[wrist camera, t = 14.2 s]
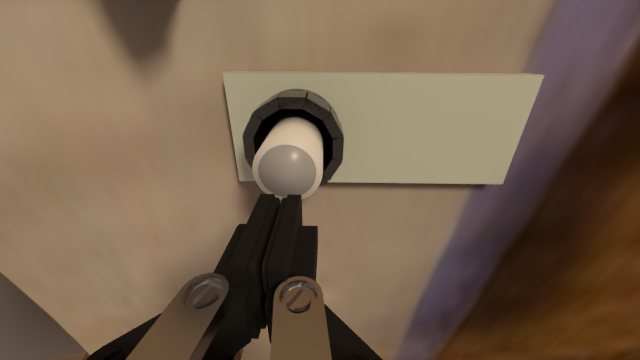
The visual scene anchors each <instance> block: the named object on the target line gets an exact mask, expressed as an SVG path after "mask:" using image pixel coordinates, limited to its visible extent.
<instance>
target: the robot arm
mask: <svg viewBox="0 0 640 360" xmlns="http://www.w3.org/2000/svg"><path fill="white" fill-rule="evenodd" d="M317 249H318V226H302V199H301V195H293V194H288V195H287V198H282V201H281V204H280V199H279V198H278V197H275V194H260V196H259V198H258V200H257V203H256V205H255V207H254V209H253V211H252V213H251V215H250V217H249V220H248V222H247V224H239V225H238V226H237V228H236V230H235V232H234V234H233V236H232V238H231V240H230V242H229V243H228V245H227V247H226V249H225V251H224V253H223V255H222V257H221V259H220V261H219V263H218V265H217V267H216V269H215V271H214V273H207V274H202V275H200V276H197V277H195V278H193V279H192V280H190V281H189V282H187V284H186V285H185V286H184V287H183V288H182V289H181V290H180V291H179V292H178V294H177V295H176V296H175V298H174V299H173V300H172V301H171V303H170V304H169V305H168V306H167V308H166V309H165V310H164V312H163V313H161V314H159V315H157V316H156V317H154V318H152V319H150V320H149V321H147V322H145V323H143V324H142V325H140V326H138V327H136V328H135V329H133V330H131V331H129V332H128V333H126V334H124V335H122V336H121V337H119V338H117V339H115V340H113V341H112V342H110V343H108V344H106V345H105V346H103V347H101V348H100V349H99V350H97V351H96V352H94V353H93V354H92V355H89V354H88V353H87V352H83V353H78V354H73V355H68V356H62V357H57V358H51V359H46V360H240V359H241V356H242V352H243V347H244V346H246V345H247V344H248V343H250V342H251V338H254V339H258V338H259V334H260V330H261V329H265V328H266V326H268V333H269V340H270V343H271V355H270V360H382V359H381V358H380V357H379V356H378V355H377V354H376V353H375V352H374V351H373V350H372V349H371V348H370V347H369V346H368V345H367V344H366V343H365V342H364V341H363V340H362V339H361V338H360V337H358V336H357V335H356V334H355V333H354V332H353V331H352V330H351V329H350V328H349V327H348V326H347V325H346V324H345V323H344V322H343V321H342V320H341V319H340V318H339V317H338V316H337V315H336V314H335V313H333V312H332V311H331V310H330V309H329V308H328V307H327V306H326V305H325V304H324V300H323V293H322V290H321V287H320V286H319V285H318V283H317V282H316V268H317Z"/></svg>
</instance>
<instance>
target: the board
mask: <svg viewBox="0 0 640 360" xmlns="http://www.w3.org/2000/svg"><path fill="white" fill-rule="evenodd" d="M222 73H223V79H224V85H225V92H226V98H227V104H228V111H229V117H230V124H231V130H232V136H233V143H234V149H235V155H236V162H237V168H238V175H239V181H255V179H254V176H253V170H252V168H251V167H250V166H249V164H248V163H247V162H246V161H247V160H246V159H245V152H244V145H243V138H242V136H243V132H244V130H245V128H246V126H247V124H248V122H249V119H250V117H251V115H252V113H253V112H254V111H255V110H256V109H257V108H258V107H259V106H260V105H261V104H262V103H263V102H265V101H266V100H268V99H269V98H271V97H272V96H273V95H275V94H277V93H279V92H281V91H284V90H288V89H304V90H309V91H312V92H314V93H316V94H318V95H320V96H321V97H323V98H324V99H325V100H326V101H327V102H328V103H329V104H330V105H331V106H332V107H333V109H334V111H335V112H336V114H337V117H338V120H339V122H340V123H341V126H342V131H343V135H344V147H343V161H342V163H341V165H340V166H339V168H338V169H337V171H336V172H335V174H334V175H333V176H332V178H331V179H330V181H329V180H328V182H353V183H436V184H503V182H504V179H505V176H506V174H507V171H508V169H509V166H510V163H511V161H512V158H513V156H514V153H515V150H516V148H517V145H518V143H519V140H520V137H521V135H522V132H523V130H524V127H525V124H526V122H527V119H528V117H529V114H530V111H531V109H532V106H533V104H534V101H535V98H536V96H537V93H538V91H539V88H540V85H541V83H542V80H543V78H544V75H538V74H531V73H417V72H303V71H226V72H222Z"/></svg>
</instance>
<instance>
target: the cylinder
mask: <svg viewBox="0 0 640 360" xmlns="http://www.w3.org/2000/svg"><path fill="white" fill-rule="evenodd" d="M252 170H253V176H254V179H255V181H256V183H257V184H258V186H259V187H260V188H261V190H262V191H264V192H265V193H266V194H275V197H278V198H279V199H280V200H281V201H282V198H287V195H288V194H293V195H301V199H305V198H307V197H309V196H310V195H311V194H313V193H314V192H315V191H316V190H317V188H318V187H319V185H320V183H321V180H322V175H323V131H322V128H321V126H320V124H319V122H318V121H317V120H316V119H315V118H314V117H313V116H311V115H310V114H308V113H305V112H301V111H292V112H289V113H286V114H284V115H283V116H281V117H280V118H279V119H278V120H277V122H276V123H275V125H274V126H273V128H272V129H271V131H270V133H269V134H268V136H267V137H266V139H265V140H264V142H263V144H262V145H261V147H260V148H259V150H258V151H257V153H256V155H255V157H254V160H253V165H252Z"/></svg>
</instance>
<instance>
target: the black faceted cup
mask: <svg viewBox="0 0 640 360" xmlns="http://www.w3.org/2000/svg"><path fill="white" fill-rule="evenodd" d="M292 111H301V112H305V113H308V114H310V115H311V116H313V117H314V118H315V119H316V120H317V121H318V122H319V124H320V126H321V128H322V131H323V175H322V180H321V183H320V185H319V186H321V185H323V184H325V183H327V182H328V180H329V181H330V179H331V178H332V176H333V175H334V174H335V172H336V171H337V169H338V168H339V166H340V165H341V163H342V161H343V147H344V135H343V131H342V126H341V123H340V122H339V120H338V117H337V114H336V112H335V111H334V109H333V107H332V106H331V105H330V104H329V103H328V102H327V101H326V100H325V99H324V98H323V97H321V96H320V95H318V94H316V93H314V92H312V91H309V90H304V89H288V90H284V91H281V92H279V93H277V94H275V95H273V96H272V97H271V98H269V99H268V100H266V101H265V102H263V103H262V104H261V105H260V106H259V107H258V108H257V109H256V110H255V111H254V112H253V113H252V115H251V117H250V119H249V122H248V124H247V126H246V128H245V130H244V132H243V136H242V138H243V145H244V152H245V159H246V160H247V161H246V162H247V163H248V164H249V166H250V167H251V168H252V165H253V160H254V157H255V155H256V153H257V151H258V150H259V148H260V147H261V145H262V144H263V142H264V140H265V139H266V137H267V136H268V134H269V133H270V131H271V129H272V128H273V126H274V125H275V123H276V122H277V120H278V119H279V118H280V117H281V116H283V115H284V114H286V113H289V112H292Z"/></svg>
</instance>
